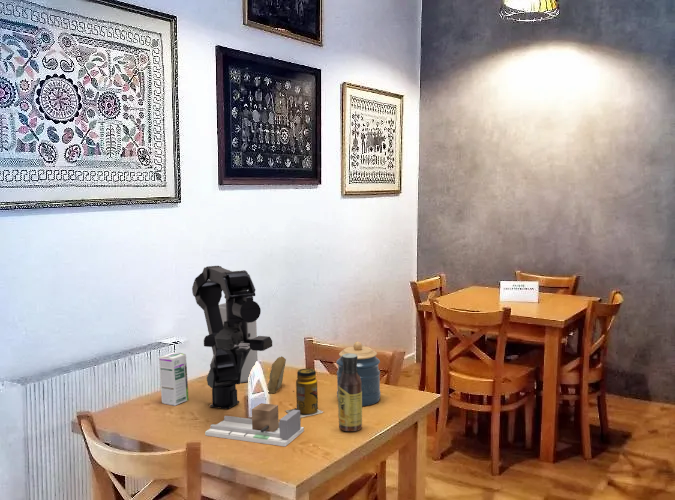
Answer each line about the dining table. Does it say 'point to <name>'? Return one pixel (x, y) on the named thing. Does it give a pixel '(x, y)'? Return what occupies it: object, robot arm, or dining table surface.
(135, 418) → the dining table surface
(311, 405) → the condiment
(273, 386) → the rock
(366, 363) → the canister
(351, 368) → the sauce bottle
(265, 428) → the brown cardboard cube
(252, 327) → the cylinder vase
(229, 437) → the gauge base
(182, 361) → the syrup box
